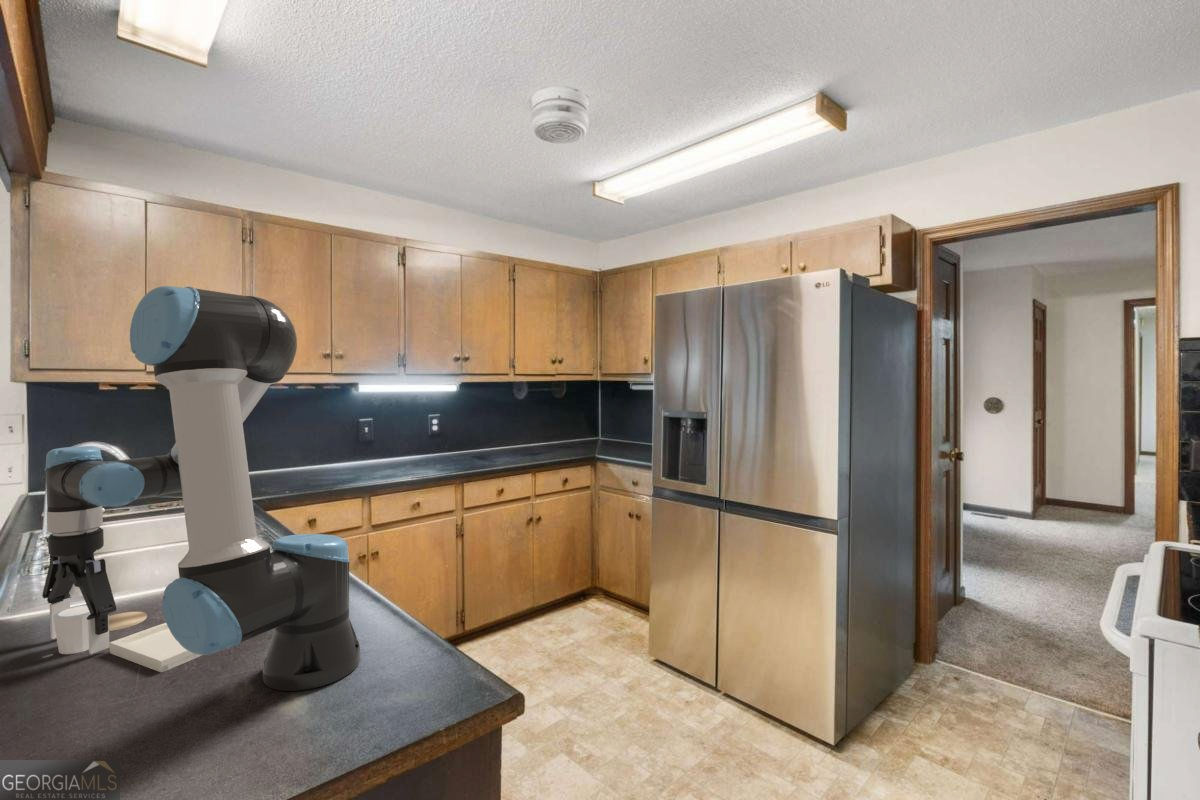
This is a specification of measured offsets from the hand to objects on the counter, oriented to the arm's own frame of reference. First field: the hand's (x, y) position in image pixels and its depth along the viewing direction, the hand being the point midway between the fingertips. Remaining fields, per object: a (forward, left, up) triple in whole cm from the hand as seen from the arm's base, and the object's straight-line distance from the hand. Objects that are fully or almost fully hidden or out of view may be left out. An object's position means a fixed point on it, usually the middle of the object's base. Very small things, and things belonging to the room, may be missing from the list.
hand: (79, 643), depth 105 cm
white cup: (0, 0, -1) cm, 1 cm away
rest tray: (-16, -7, -1) cm, 17 cm away
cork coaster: (+6, -9, -1) cm, 11 cm away
